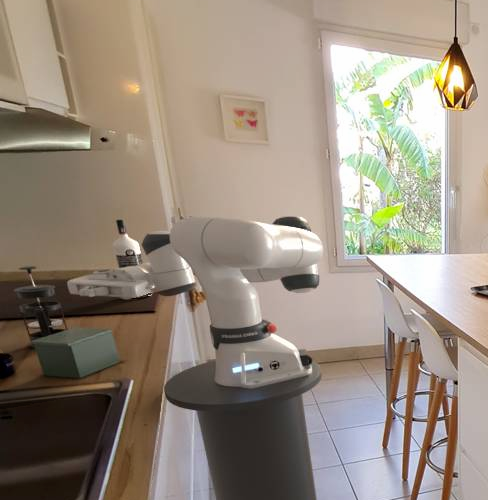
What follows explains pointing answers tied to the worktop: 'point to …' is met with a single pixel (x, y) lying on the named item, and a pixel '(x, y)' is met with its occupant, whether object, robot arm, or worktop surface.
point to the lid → (71, 336)
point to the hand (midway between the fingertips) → (84, 293)
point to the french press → (42, 311)
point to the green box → (78, 357)
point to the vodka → (126, 248)
